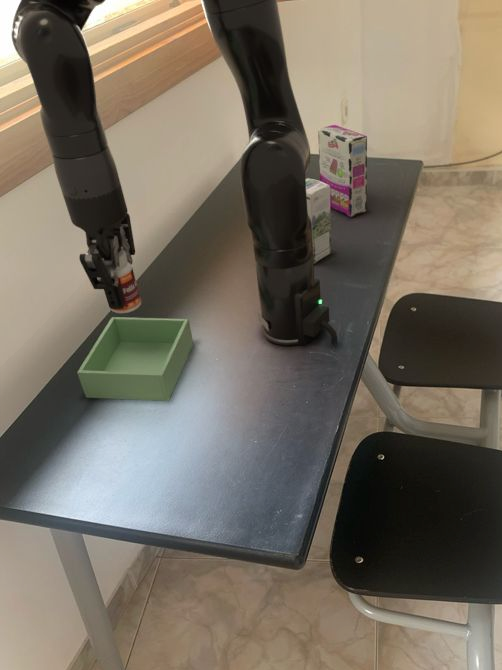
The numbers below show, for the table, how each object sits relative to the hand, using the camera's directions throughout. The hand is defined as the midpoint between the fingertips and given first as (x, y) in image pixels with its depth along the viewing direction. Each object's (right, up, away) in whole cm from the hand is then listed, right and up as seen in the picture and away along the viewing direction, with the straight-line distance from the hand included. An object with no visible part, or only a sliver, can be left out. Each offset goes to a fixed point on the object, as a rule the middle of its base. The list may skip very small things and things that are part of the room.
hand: (123, 297), depth 98 cm
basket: (0, -10, +9) cm, 13 cm away
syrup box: (+28, +15, +36) cm, 47 cm away
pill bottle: (0, -1, +1) cm, 2 cm away
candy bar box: (+34, +30, +52) cm, 69 cm away
